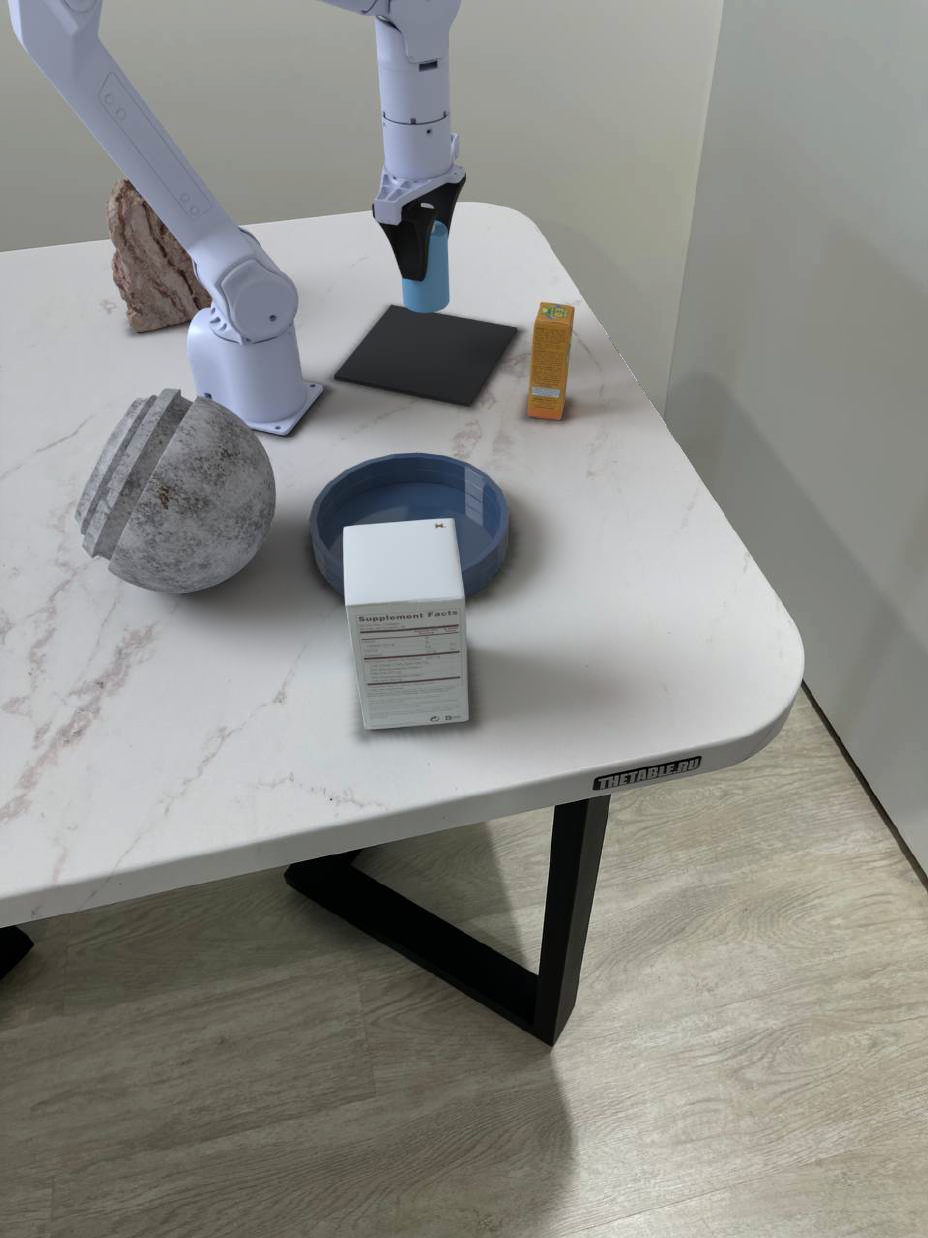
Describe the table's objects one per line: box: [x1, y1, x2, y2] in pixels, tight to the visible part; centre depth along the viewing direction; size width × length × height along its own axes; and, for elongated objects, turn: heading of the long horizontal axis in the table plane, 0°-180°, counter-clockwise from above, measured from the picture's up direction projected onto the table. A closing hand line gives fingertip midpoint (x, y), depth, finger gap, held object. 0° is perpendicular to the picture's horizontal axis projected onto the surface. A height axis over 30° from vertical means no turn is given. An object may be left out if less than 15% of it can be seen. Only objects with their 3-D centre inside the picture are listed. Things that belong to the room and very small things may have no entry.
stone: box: [104, 177, 213, 333], centre depth 102 cm, size 15×8×10 cm
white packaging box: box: [343, 518, 470, 730], centre depth 67 cm, size 7×7×13 cm
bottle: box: [401, 203, 451, 313], centre depth 93 cm, size 4×4×9 cm
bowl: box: [308, 451, 510, 599], centre depth 81 cm, size 16×16×3 cm
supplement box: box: [526, 301, 576, 421], centre depth 90 cm, size 3×3×10 cm
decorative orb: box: [73, 387, 277, 594], centre depth 75 cm, size 15×14×15 cm
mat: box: [333, 304, 518, 407], centre depth 101 cm, size 14×14×1 cm
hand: (423, 265), depth 94 cm, fingers closed on bottle, 4 cm apart
